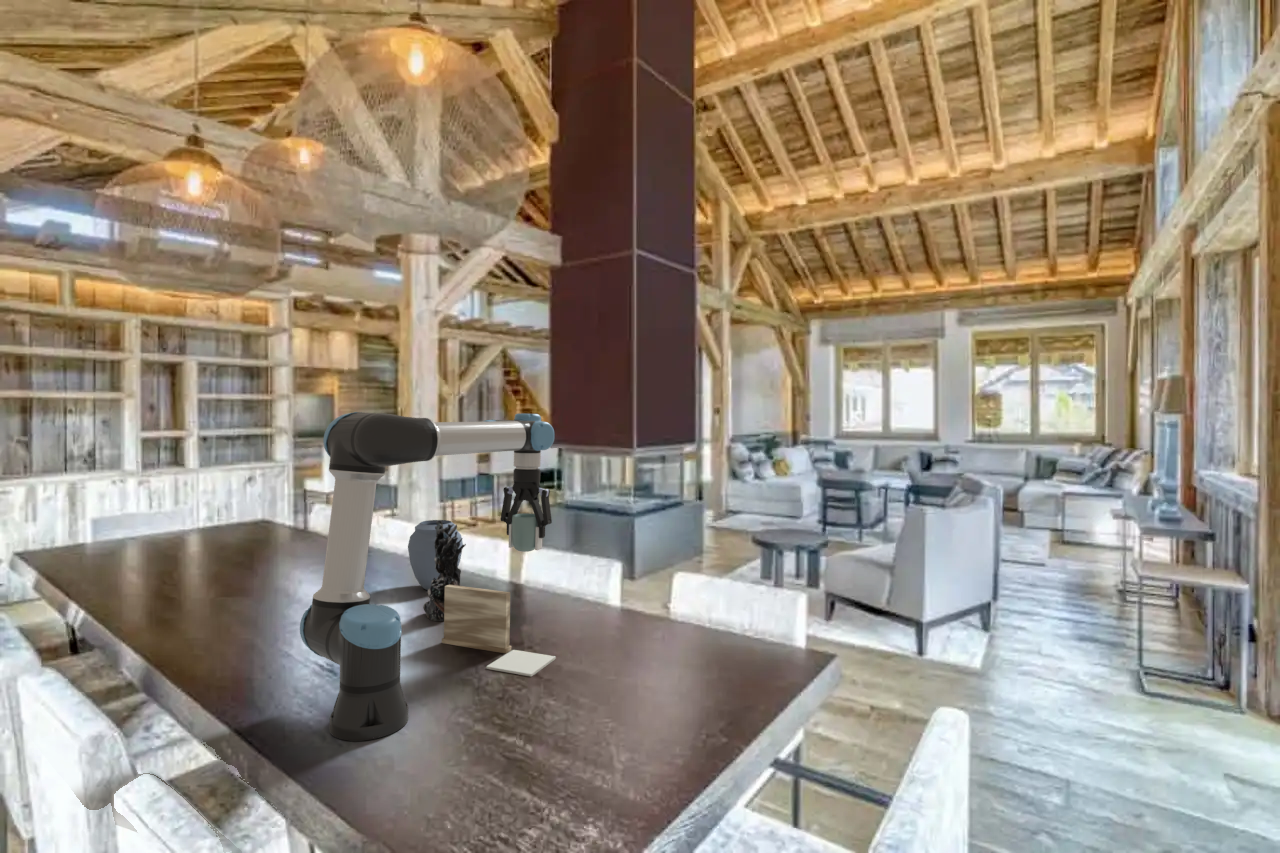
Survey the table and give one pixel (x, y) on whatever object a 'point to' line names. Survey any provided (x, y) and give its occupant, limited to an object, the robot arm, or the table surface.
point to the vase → (426, 551)
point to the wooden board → (477, 618)
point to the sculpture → (443, 570)
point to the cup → (524, 531)
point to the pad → (521, 662)
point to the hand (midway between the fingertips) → (525, 547)
